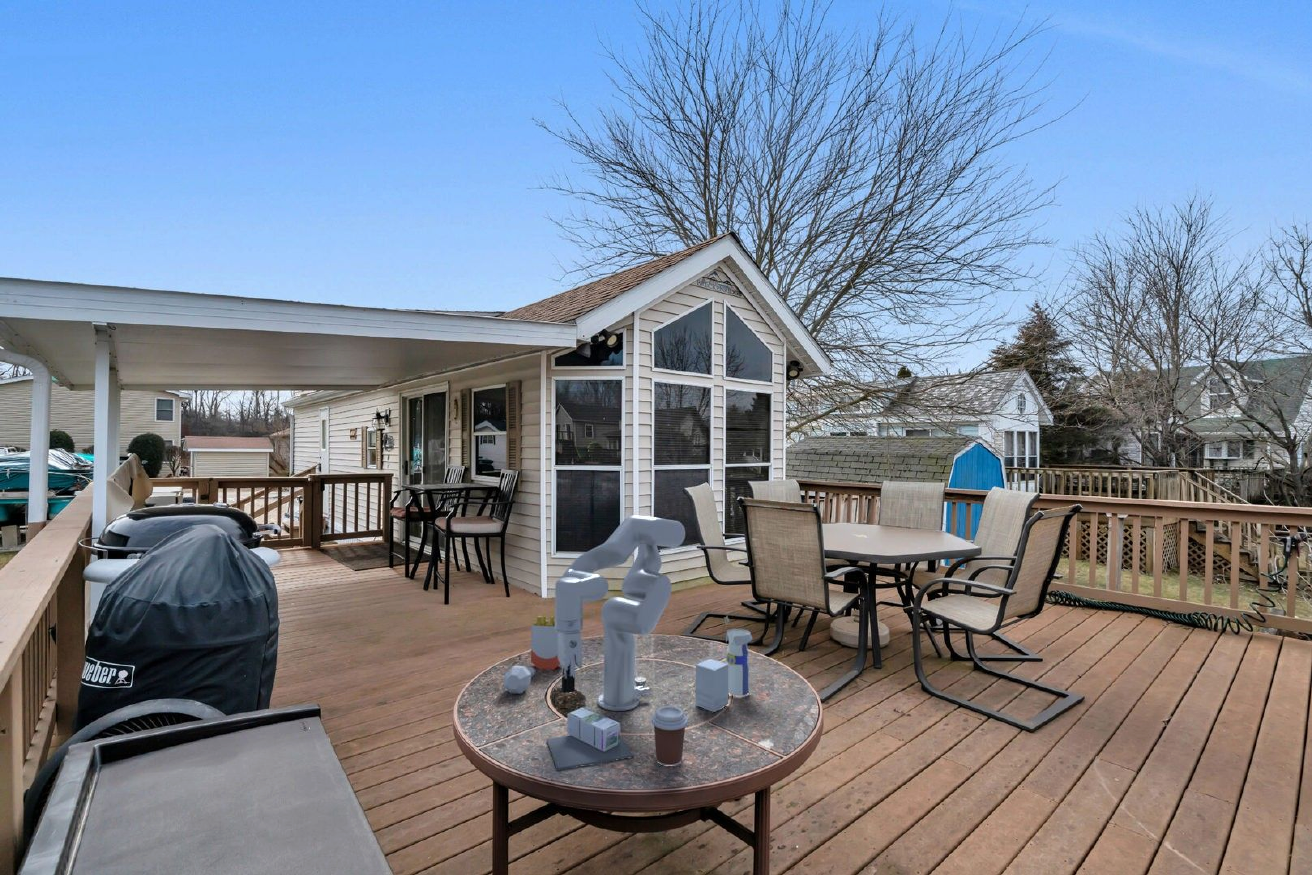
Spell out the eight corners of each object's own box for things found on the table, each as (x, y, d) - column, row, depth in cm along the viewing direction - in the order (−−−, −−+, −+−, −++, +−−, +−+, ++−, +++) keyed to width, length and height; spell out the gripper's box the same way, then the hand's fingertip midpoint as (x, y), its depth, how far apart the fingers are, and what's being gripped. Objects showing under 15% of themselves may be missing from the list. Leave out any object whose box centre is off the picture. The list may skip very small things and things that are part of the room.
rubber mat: (615, 730, 164) (616, 728, 164) (633, 757, 150) (633, 755, 150) (546, 741, 157) (546, 738, 157) (557, 770, 143) (558, 767, 143)
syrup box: (566, 734, 160) (604, 753, 150) (566, 712, 160) (605, 730, 150) (582, 726, 164) (620, 745, 155) (582, 705, 164) (621, 722, 155)
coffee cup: (658, 747, 155) (659, 701, 155) (692, 755, 151) (693, 707, 151) (644, 764, 146) (645, 715, 146) (679, 773, 143) (680, 722, 143)
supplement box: (729, 706, 181) (729, 664, 181) (714, 713, 175) (714, 670, 176) (709, 698, 186) (710, 658, 186) (694, 706, 180) (695, 663, 181)
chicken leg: (545, 679, 201) (537, 655, 203) (530, 690, 183) (521, 663, 185) (521, 689, 200) (514, 664, 202) (504, 700, 183) (496, 673, 185)
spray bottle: (739, 701, 184) (740, 619, 185) (718, 692, 191) (720, 613, 191) (756, 694, 190) (757, 615, 190) (735, 685, 196) (737, 609, 197)
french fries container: (534, 663, 213) (535, 612, 213) (564, 665, 212) (565, 614, 212) (530, 668, 208) (531, 616, 209) (561, 669, 207) (562, 617, 208)
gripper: (589, 630, 158) (588, 700, 158) (575, 614, 172) (574, 679, 171) (561, 633, 155) (560, 704, 155) (549, 617, 169) (548, 682, 169)
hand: (568, 691), depth 163 cm, fingers closed
